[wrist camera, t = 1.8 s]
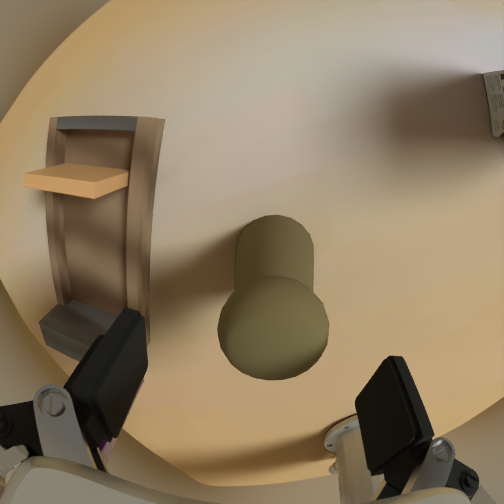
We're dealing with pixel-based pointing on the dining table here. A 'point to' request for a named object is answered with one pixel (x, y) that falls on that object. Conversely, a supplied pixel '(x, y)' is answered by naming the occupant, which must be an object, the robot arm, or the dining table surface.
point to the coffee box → (496, 101)
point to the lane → (100, 228)
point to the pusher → (78, 179)
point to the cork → (273, 302)
